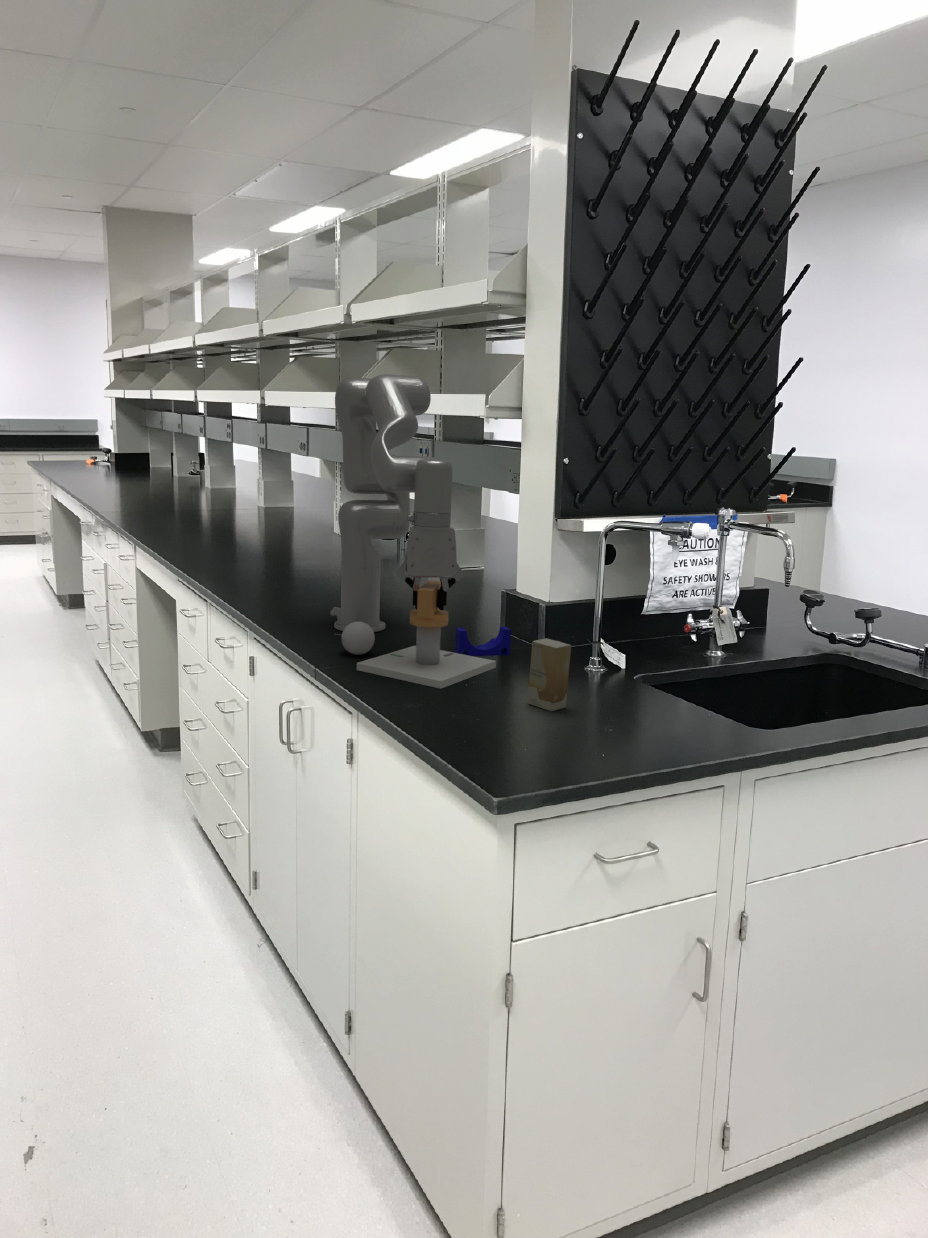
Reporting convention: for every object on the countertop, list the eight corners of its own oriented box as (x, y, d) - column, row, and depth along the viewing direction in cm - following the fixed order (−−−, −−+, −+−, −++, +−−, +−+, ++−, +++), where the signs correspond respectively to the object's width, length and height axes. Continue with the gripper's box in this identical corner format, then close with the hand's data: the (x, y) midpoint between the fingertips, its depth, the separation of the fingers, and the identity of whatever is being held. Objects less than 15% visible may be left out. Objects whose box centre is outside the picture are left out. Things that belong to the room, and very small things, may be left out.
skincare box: (526, 704, 175) (530, 640, 173) (541, 700, 178) (545, 637, 176) (552, 712, 171) (556, 647, 168) (567, 708, 174) (572, 644, 171)
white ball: (381, 653, 208) (382, 621, 206) (361, 660, 202) (361, 627, 200) (345, 646, 213) (345, 615, 211) (324, 653, 207) (325, 620, 205)
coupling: (443, 630, 188) (444, 591, 187) (404, 628, 189) (405, 589, 188) (452, 618, 200) (453, 581, 198) (415, 616, 201) (416, 579, 199)
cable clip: (502, 650, 216) (503, 625, 215) (509, 655, 212) (510, 629, 211) (453, 652, 212) (454, 626, 211) (459, 657, 208) (460, 631, 207)
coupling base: (356, 670, 194) (357, 623, 192) (415, 651, 211) (417, 609, 209) (440, 688, 183) (442, 639, 181) (495, 667, 200) (498, 622, 198)
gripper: (392, 521, 185) (390, 612, 189) (476, 523, 188) (472, 613, 192) (389, 518, 192) (386, 605, 196) (469, 519, 195) (465, 605, 199)
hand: (429, 608), depth 194 cm, fingers closed on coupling, 4 cm apart
